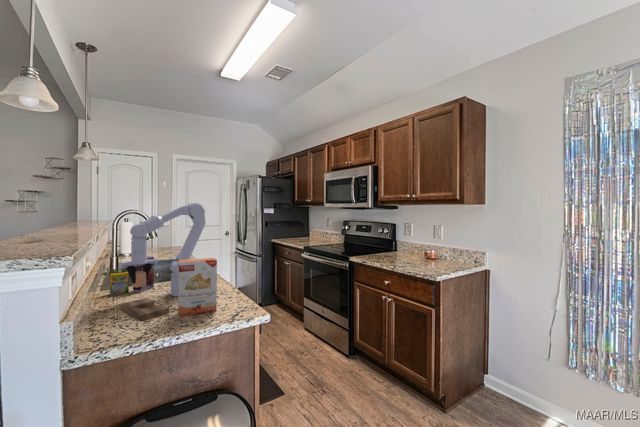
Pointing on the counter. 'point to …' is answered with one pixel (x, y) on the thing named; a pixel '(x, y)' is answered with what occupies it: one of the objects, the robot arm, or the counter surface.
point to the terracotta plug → (140, 279)
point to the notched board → (144, 308)
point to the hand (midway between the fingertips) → (139, 282)
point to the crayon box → (119, 281)
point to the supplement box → (149, 279)
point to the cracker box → (197, 286)
